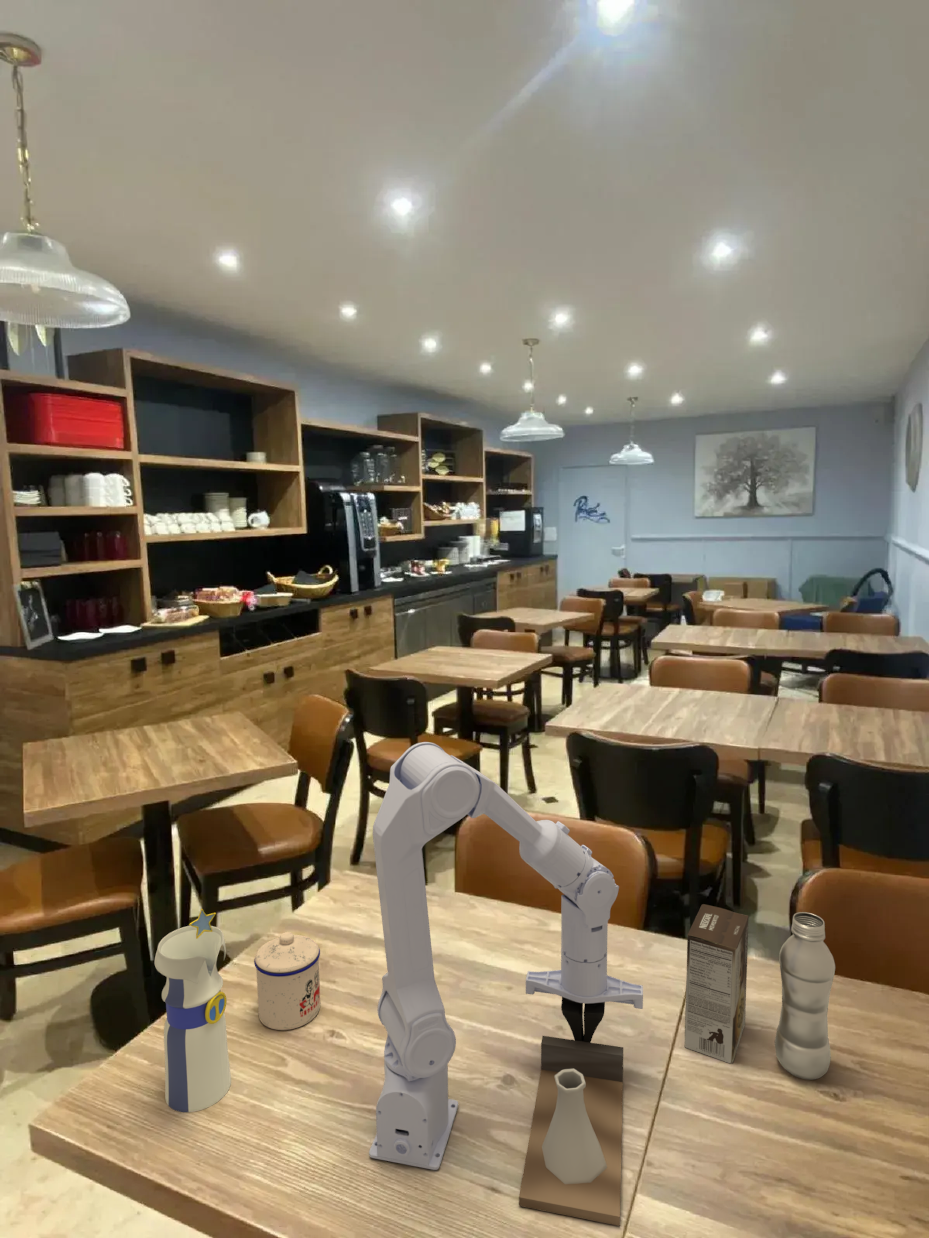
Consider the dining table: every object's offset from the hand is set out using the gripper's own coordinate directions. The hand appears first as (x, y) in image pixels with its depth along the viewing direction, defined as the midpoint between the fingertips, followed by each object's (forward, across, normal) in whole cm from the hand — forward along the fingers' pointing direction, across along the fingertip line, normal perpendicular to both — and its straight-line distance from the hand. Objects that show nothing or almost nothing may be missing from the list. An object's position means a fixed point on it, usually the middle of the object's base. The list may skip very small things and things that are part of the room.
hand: (583, 1049), depth 93 cm
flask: (+2, 0, +15) cm, 15 cm away
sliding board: (+2, 0, +12) cm, 12 cm away
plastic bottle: (+2, -27, -5) cm, 28 cm away
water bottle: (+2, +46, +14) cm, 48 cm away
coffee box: (+2, -17, -9) cm, 20 cm away
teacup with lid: (+2, +42, -3) cm, 42 cm away
